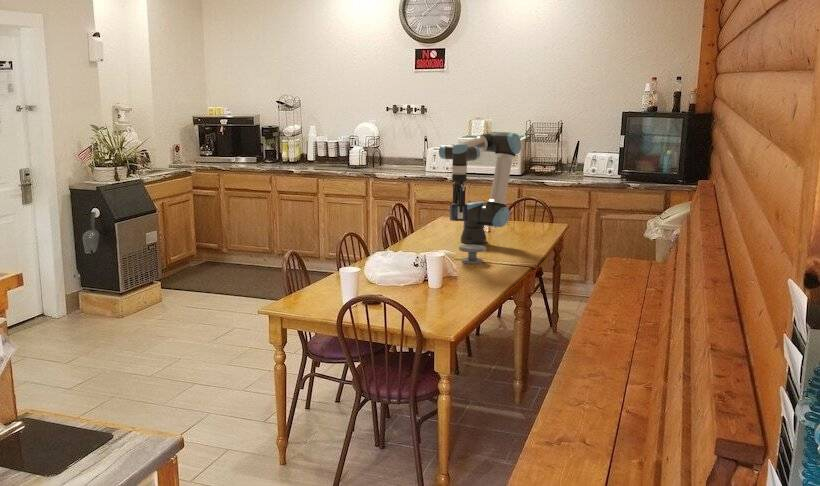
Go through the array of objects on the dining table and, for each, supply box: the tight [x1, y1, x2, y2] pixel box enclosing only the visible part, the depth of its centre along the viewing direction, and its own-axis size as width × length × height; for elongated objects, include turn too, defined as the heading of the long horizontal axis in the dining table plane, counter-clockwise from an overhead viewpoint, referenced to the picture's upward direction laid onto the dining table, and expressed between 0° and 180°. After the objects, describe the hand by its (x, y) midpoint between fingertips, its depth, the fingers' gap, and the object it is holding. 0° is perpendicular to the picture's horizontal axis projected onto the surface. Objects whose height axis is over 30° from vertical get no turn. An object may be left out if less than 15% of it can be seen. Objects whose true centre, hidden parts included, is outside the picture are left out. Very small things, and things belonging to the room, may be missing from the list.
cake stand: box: [458, 244, 487, 265], centre depth 381 cm, size 14×14×8 cm
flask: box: [449, 201, 467, 222], centre depth 387 cm, size 9×3×11 cm, turn 78°
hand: (458, 217), depth 388 cm, fingers closed on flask, 5 cm apart
